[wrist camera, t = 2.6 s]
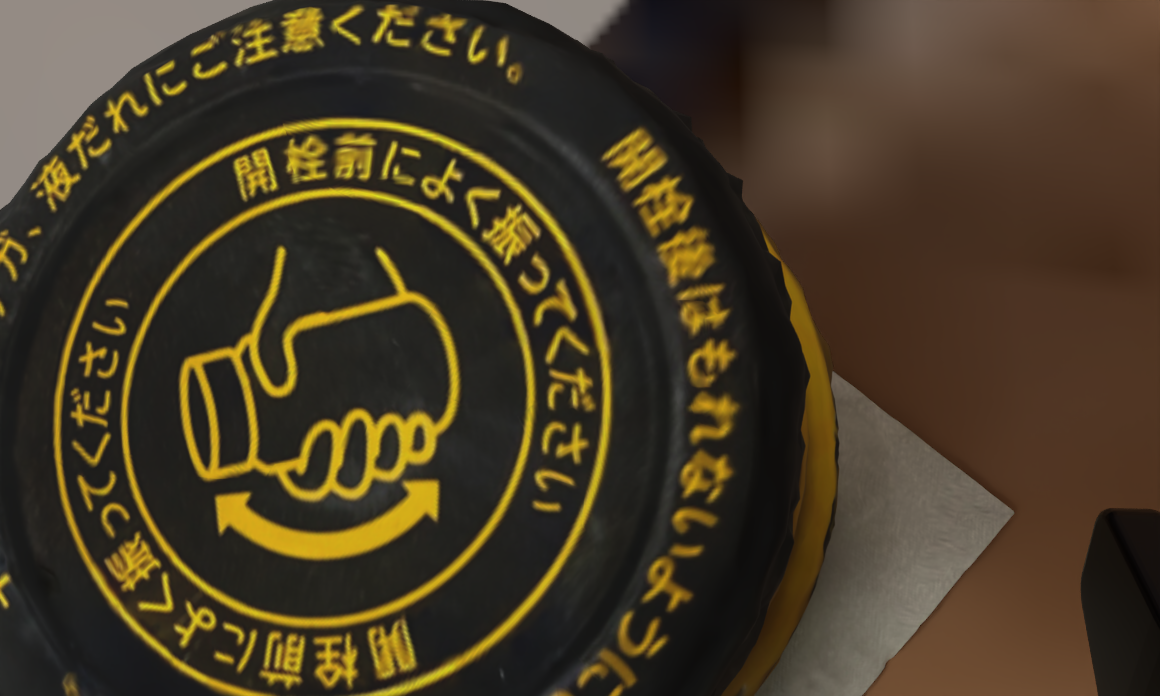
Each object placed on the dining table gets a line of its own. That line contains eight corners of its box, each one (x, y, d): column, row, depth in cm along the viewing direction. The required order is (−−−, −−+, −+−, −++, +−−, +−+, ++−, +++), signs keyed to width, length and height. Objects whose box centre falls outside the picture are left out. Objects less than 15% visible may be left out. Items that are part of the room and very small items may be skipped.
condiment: (605, 195, 18) (288, -374, 6) (1012, 512, 16) (1675, 552, 4) (342, 514, 18) (-463, 545, 6) (716, 869, 16) (561, 1886, 4)
